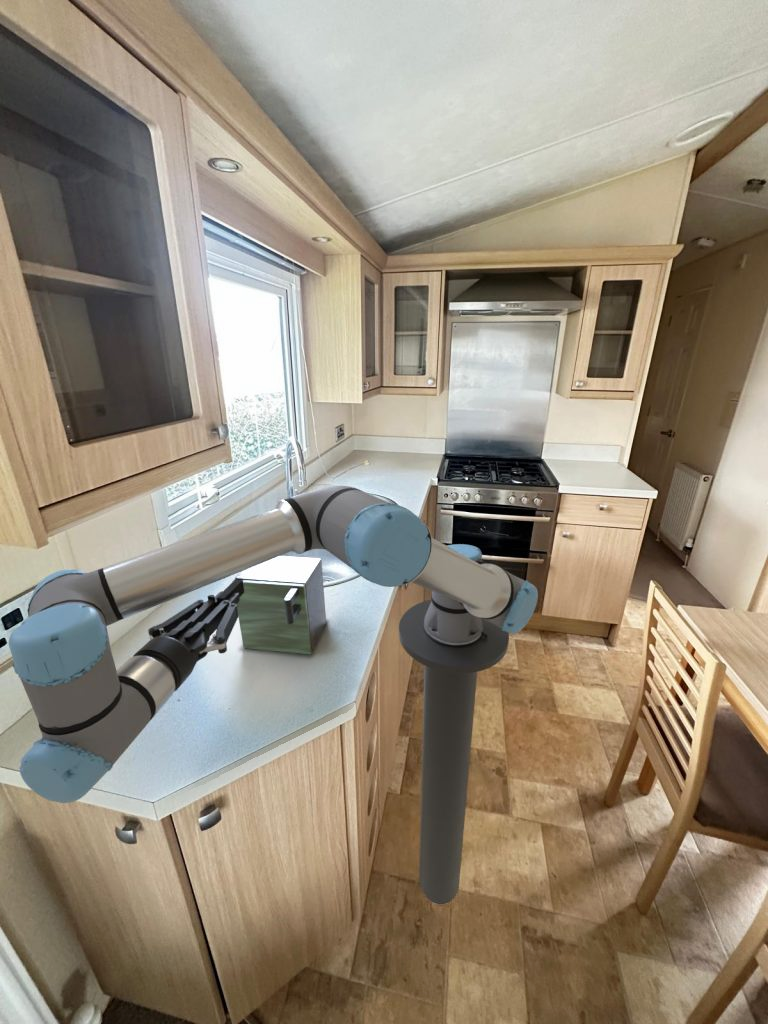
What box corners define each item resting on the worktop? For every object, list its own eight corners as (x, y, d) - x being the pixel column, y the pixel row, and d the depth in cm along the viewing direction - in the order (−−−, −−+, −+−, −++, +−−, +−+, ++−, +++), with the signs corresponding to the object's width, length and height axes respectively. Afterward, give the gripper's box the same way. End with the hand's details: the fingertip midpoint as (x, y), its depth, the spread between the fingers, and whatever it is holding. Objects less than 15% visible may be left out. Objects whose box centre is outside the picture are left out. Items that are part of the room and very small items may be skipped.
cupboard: (312, 651, 98) (305, 583, 91) (246, 645, 101) (234, 578, 94) (326, 621, 109) (321, 558, 102) (266, 616, 112) (257, 554, 105)
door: (302, 670, 92) (295, 599, 85) (232, 663, 94) (219, 593, 88) (311, 651, 98) (305, 584, 91) (245, 645, 100) (234, 579, 94)
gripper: (117, 690, 58) (211, 599, 79) (201, 703, 55) (274, 606, 77) (104, 647, 55) (205, 565, 77) (192, 658, 53) (270, 571, 75)
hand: (239, 585), depth 77 cm, fingers closed
